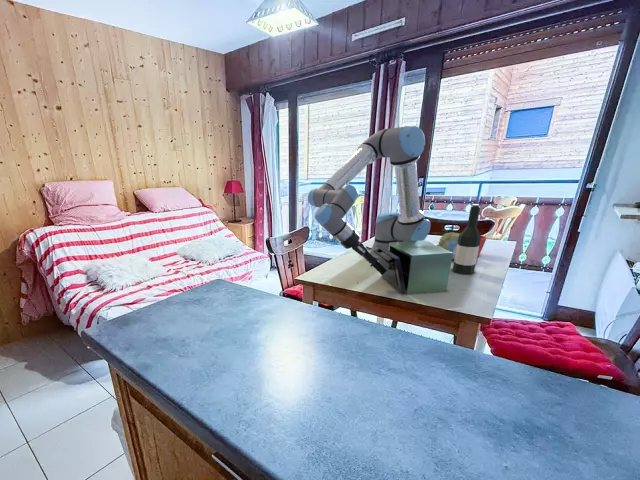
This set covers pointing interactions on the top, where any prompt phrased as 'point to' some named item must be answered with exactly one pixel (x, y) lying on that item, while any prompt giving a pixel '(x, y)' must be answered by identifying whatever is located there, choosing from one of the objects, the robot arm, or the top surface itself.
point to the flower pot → (481, 244)
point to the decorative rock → (449, 242)
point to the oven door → (391, 268)
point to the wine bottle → (468, 244)
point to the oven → (423, 265)
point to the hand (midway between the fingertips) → (383, 272)
